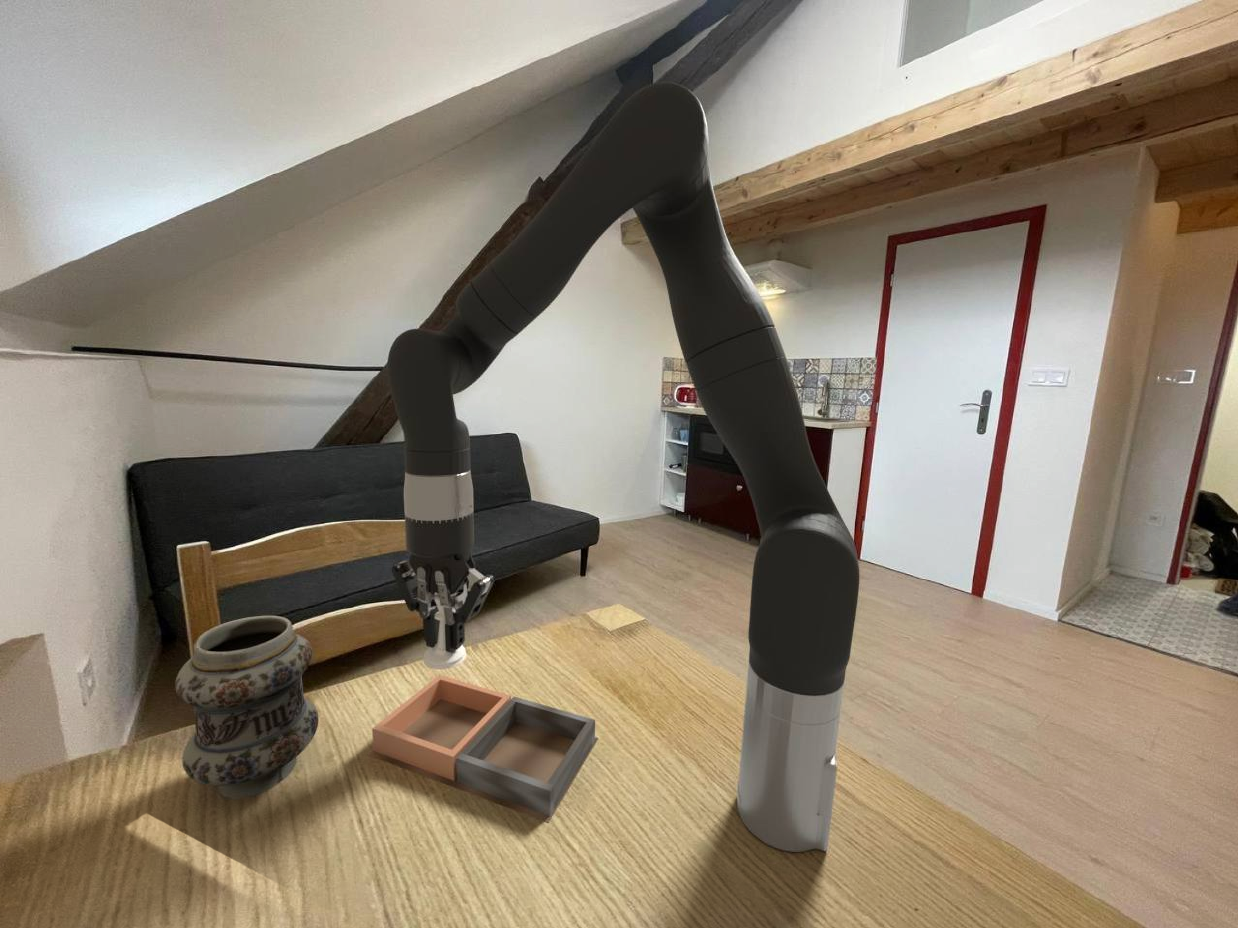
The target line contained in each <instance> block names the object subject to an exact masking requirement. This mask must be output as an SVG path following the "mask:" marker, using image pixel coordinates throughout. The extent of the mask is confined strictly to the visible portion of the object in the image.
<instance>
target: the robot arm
mask: <svg viewBox="0 0 1238 928" xmlns="http://www.w3.org/2000/svg"><path fill="white" fill-rule="evenodd" d="M708 129H709V128H708V123H707V118H706V114H705V111H704V108H703V106H702V103H701V102H700V99H698V97H697V96H696V94H694V93H693V91H691V90H690V89H689V88H687V87H685V86H684V85H682V84H679V83H676V82H673V81H659V82H653V83H650V84H648V85H645V86H644V87H642V88H640V89H638V90H637V91H635V92H634V93H633V94H632V95H631V96H629V98H627V99H626V100H625V101H624V102H623V103H622V105H620V106H619V108H618V109H617V110H616V111H615V113H614V114H613V115H612V117H611V118H610V119H609V120H608V121H607V122H606V124H605V126H604V127H603V128H602V130H601V131H600V133H598V135H597V136H596V137H595V139H594V141H593V142H592V144H590V146H589V147H588V149H587V150H586V152H585V153H584V154H583V155H582V157H581V158H580V159H579V161H578V162H577V163H576V165H575V166H574V167H573V168H572V169H571V171H570V172H569V174H568V175H567V176H566V177H565V179H564V180H563V181H562V183H561V184H560V185H559V187H558V188H557V189H556V190H555V191H554V193H553V194H552V195H551V196H550V198H549V199H547V201H546V203H544V205H543V206H542V208H541V209H540V210H539V211H538V213H536V215H535V216H534V217H533V218H532V219H531V221H530V222H528V224H527V225H526V226H525V227H524V228H523V230H522V231H520V232H519V234H518V235H517V236H516V237H515V238H514V239H513V240H512V241H511V242H510V243H509V244H508V245H506V247H505V248H504V249H503V250H502V251H501V252H500V253H499V254H498V255H497V256H495V258H493V260H492V259H491V260H492V261H490V262H489V263H488V264H487V265H485V266H484V268H483V269H482V270H481V271H480V272H479V273H478V274H476V275H475V276H474V277H473V279H472V280H471V281H469V282H468V283H467V284H466V285H465V286H464V287H463V289H462V290H461V291H460V293H458V295H457V298H456V301H455V307H456V311H457V312H456V314H454V316H452V318H451V319H450V320H449V322H447V324H446V325H445V326H444V327H443V328H441V329H440V330H439V331H438V330H432V329H427V328H410V329H408V330H405V331H404V332H401V333H400V334H399V335H398V336H397V337H396V338H395V339H394V341H393V342H392V344H391V346H390V349H389V352H388V355H387V363H386V375H387V380H388V382H387V383H388V386H389V389H390V394H391V397H392V401H393V405H394V407H395V411H396V416H397V419H398V421H399V424H400V426H401V430H402V432H403V433H402V434H403V448H404V449H403V452H404V485H403V505H404V506H403V507H404V529H405V530H404V531H405V549H406V551H408V553H409V556H408V558H407V559H405V560H403V561H401V562H398V563H397V564H394V565H392V567H391V573H392V575H393V577H394V580H395V582H396V584H397V586H398V588H399V591H400V593H401V595H402V598H403V600H404V602H405V604H406V607H407V609H408V610H409V611H410V612H414V611H416V612H417V613H418V615H419V617H420V618H421V619H422V626H423V627H422V628H423V639H424V641H425V645H426V647H428V648H433V647H435V645H436V644H437V643H438V635H439V623H440V620H436V619H435V618H434V616H435V614H436V613H437V612H439V610H438V607H437V604H436V602H435V600H434V597H435V596H436V595H437V594H439V599H440V605H441V606H443V607H444V613H445V621H446V624H445V646H446V652H450V653H453V652H454V651H456V650H457V649H458V648H460V647H461V645H462V646H463V644H464V643H465V641H466V637H465V632H466V631H465V624H466V623H467V622H468V621H470V620H472V618H474V617H476V616H477V615H478V614H479V613H480V611H481V609H482V607H483V605H484V603H485V601H486V599H487V597H488V595H489V593H490V591H491V589H492V587H493V585H494V584H495V577H494V576H493V575H492V574H486V575H483V574H482V573H481V572H479V571H478V570H477V569H476V563H475V561H474V558H473V556H472V551H473V547H474V545H475V521H474V520H475V519H474V518H475V517H474V515H475V513H474V511H475V510H474V486H473V481H472V473H471V472H472V471H471V442H470V441H471V438H470V432H469V428H468V425H467V424H466V423H465V422H464V421H463V420H461V419H458V417H457V412H456V407H455V400H454V395H456V394H459V393H461V392H463V391H465V390H466V389H468V388H470V387H471V386H472V385H474V383H475V382H476V381H478V380H479V379H480V378H481V377H482V376H483V374H484V373H485V372H486V371H487V370H488V369H489V368H490V366H491V365H492V364H493V363H494V361H495V360H496V359H497V357H498V356H499V355H500V353H501V352H502V350H503V349H504V348H505V347H506V345H507V344H508V343H509V342H510V341H512V340H513V339H514V338H516V337H517V336H519V335H520V334H521V332H522V331H523V330H525V329H526V328H527V327H528V326H529V325H530V324H531V323H533V322H534V320H536V319H537V318H538V317H539V316H540V315H541V314H542V313H544V311H546V310H547V309H548V308H549V307H550V305H552V303H553V302H555V300H556V299H557V298H558V296H559V295H560V294H561V293H562V292H563V290H564V289H565V287H566V286H567V284H568V283H569V282H570V280H571V278H572V276H573V275H574V273H575V272H576V271H577V269H578V268H579V266H580V264H581V263H582V261H583V260H584V259H585V257H586V256H587V254H588V253H589V252H590V250H591V249H592V248H593V246H594V245H595V244H596V243H597V242H598V240H599V239H600V238H601V237H602V236H603V234H605V232H607V230H608V229H609V228H610V227H611V226H613V224H614V223H615V222H616V221H618V220H619V219H620V218H621V217H622V216H623V215H625V214H627V212H628V211H630V210H631V209H632V210H633V211H634V213H635V215H636V217H637V219H638V221H639V223H640V226H641V227H642V229H643V231H644V233H645V235H646V236H647V239H648V240H649V243H650V246H651V247H652V249H653V252H654V254H655V256H656V258H657V261H658V263H659V266H660V268H661V270H662V274H663V276H664V280H665V285H666V289H667V295H668V301H669V305H670V310H671V311H670V312H671V314H672V315H671V316H672V319H673V324H674V329H675V332H676V336H677V338H678V339H677V340H678V343H679V346H680V350H681V353H682V356H683V359H684V361H685V364H686V367H687V370H688V373H689V375H690V378H691V381H692V385H693V387H694V390H695V391H696V394H697V397H698V400H699V402H700V405H701V407H702V408H703V412H705V413H704V414H706V417H707V418H708V420H709V422H710V424H711V426H712V427H713V429H714V430H715V432H716V433H717V435H718V437H719V438H720V440H721V441H722V443H723V444H724V446H725V448H726V449H727V450H728V452H729V453H730V455H731V456H732V459H733V460H734V462H735V463H736V464H737V466H738V468H739V470H740V472H741V474H742V476H743V478H744V482H745V483H746V487H747V489H748V492H749V495H750V498H751V501H752V504H753V509H754V512H755V516H756V520H757V523H758V527H759V533H760V538H761V541H760V544H759V545H758V548H757V550H756V552H755V558H754V561H753V568H752V569H753V570H752V578H751V589H750V605H749V620H748V623H749V624H748V644H749V652H748V653H749V654H748V662H747V663H748V665H747V666H748V667H747V674H746V675H747V677H746V690H745V699H744V700H745V702H744V712H743V713H744V714H743V723H742V724H743V725H742V737H741V746H740V748H741V749H740V760H739V773H738V781H737V795H736V796H737V797H736V808H737V811H738V815H739V816H740V819H741V821H742V822H743V824H744V825H745V827H746V828H747V829H748V831H750V833H751V834H753V835H754V837H756V838H757V839H758V840H760V841H761V842H763V843H765V844H767V845H768V846H771V847H772V848H775V849H778V850H781V851H784V852H792V853H800V852H801V853H802V852H806V851H807V852H808V851H809V850H810V851H811V850H820V851H823V852H827V851H828V846H829V839H830V830H831V821H832V814H833V808H834V807H833V806H834V796H835V791H836V790H835V788H836V782H837V773H838V762H837V761H838V760H837V759H838V758H837V744H838V736H839V727H840V719H841V711H842V703H843V694H844V686H845V680H846V672H847V666H848V664H849V662H850V658H851V650H852V644H853V637H854V629H855V621H856V616H857V615H856V613H857V609H858V608H857V607H858V601H859V600H858V599H859V590H860V578H861V577H860V566H859V558H858V553H857V548H856V544H855V541H854V539H853V536H852V535H851V532H850V529H849V528H848V527H847V525H846V523H845V521H844V519H843V518H842V515H841V513H840V511H839V510H838V507H837V505H836V503H835V502H834V500H833V498H832V496H831V494H830V492H829V489H828V488H827V485H826V483H825V480H824V479H823V477H822V475H821V473H820V470H819V468H818V466H817V465H818V464H817V463H816V461H815V458H814V454H813V452H812V449H811V446H810V443H809V438H808V434H807V429H806V425H805V420H804V416H803V411H802V406H801V403H800V399H799V396H798V391H797V387H796V385H795V383H794V379H793V375H792V373H791V372H792V371H791V369H790V365H789V363H788V360H787V356H786V354H785V351H784V349H783V344H782V342H781V340H780V337H779V334H778V331H777V328H776V327H775V326H776V325H775V322H774V320H773V318H772V316H771V314H770V312H769V310H768V307H767V306H766V303H765V301H764V299H763V298H762V296H761V294H760V292H759V291H758V289H757V287H756V285H755V284H754V283H753V280H752V279H751V278H750V276H749V275H748V272H747V271H746V270H745V268H744V267H743V265H742V264H741V262H740V260H739V259H738V257H737V256H736V254H735V252H734V250H733V249H732V246H731V244H730V241H729V240H728V236H727V234H726V231H725V229H724V225H723V224H724V223H723V220H722V217H721V214H720V210H719V206H718V203H717V199H716V196H715V192H714V190H715V189H714V186H713V182H712V176H711V167H710V149H709V148H710V147H709V145H710V144H709V131H708ZM467 582H468V587H467ZM413 590H414V593H415V595H416V597H415V596H414V593H413Z"/></svg>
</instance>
